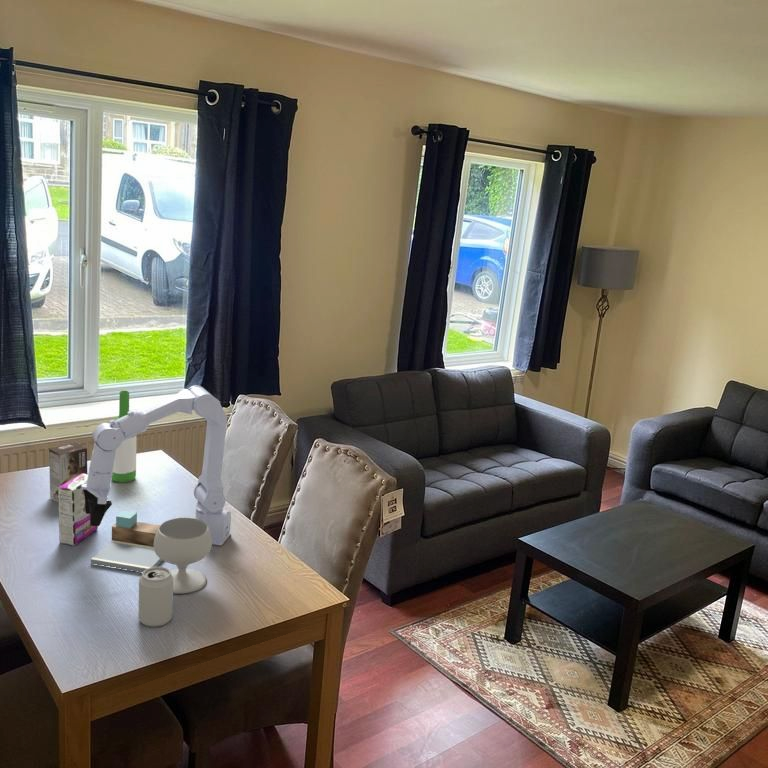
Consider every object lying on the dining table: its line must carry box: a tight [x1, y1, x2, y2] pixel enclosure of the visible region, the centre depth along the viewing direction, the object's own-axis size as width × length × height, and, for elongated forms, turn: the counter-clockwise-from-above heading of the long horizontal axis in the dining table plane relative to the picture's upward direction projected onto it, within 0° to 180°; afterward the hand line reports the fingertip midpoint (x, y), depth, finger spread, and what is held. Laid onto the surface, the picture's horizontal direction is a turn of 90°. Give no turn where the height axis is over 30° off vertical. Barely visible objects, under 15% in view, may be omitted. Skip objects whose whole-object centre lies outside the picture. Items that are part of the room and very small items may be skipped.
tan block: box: [111, 521, 162, 547], centre depth 202 cm, size 14×5×5 cm, turn 82°
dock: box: [90, 539, 164, 572], centre depth 193 cm, size 16×11×2 cm
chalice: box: [154, 517, 213, 595], centre depth 183 cm, size 14×14×15 cm
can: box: [138, 566, 174, 628], centre depth 167 cm, size 8×8×12 cm
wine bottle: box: [111, 390, 138, 483], centre depth 239 cm, size 8×8×30 cm
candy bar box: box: [57, 473, 99, 547], centre depth 200 cm, size 11×5×16 cm, turn 168°
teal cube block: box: [115, 509, 138, 529], centre depth 201 cm, size 4×4×3 cm
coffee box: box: [48, 442, 88, 503], centre depth 224 cm, size 9×6×16 cm
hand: (92, 519), depth 190 cm, fingers open, 7 cm apart
